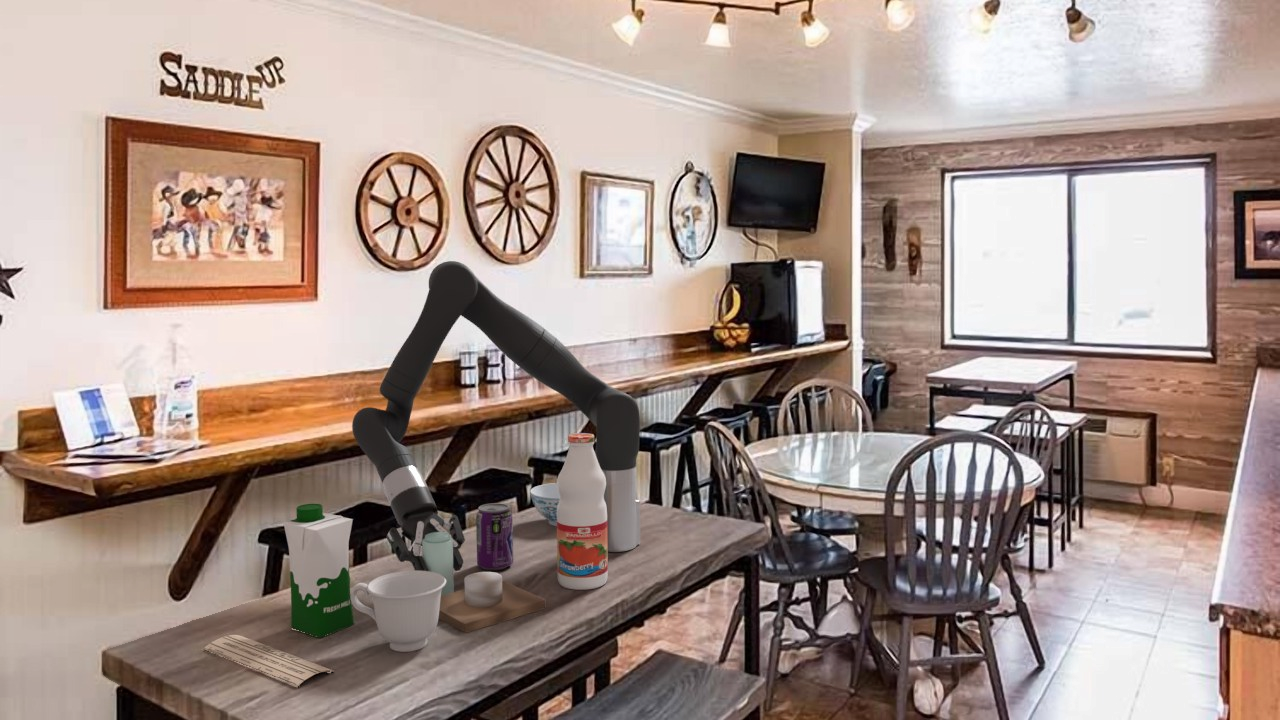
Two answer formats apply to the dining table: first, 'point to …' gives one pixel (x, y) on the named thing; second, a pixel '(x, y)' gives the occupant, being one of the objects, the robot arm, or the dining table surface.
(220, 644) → the newspaper
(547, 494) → the chinaware
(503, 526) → the beverage can
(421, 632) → the teacup
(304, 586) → the milk carton
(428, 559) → the pale green cylinder
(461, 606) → the stud base
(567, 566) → the strawberry yogurt bottle
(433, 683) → the dining table surface
